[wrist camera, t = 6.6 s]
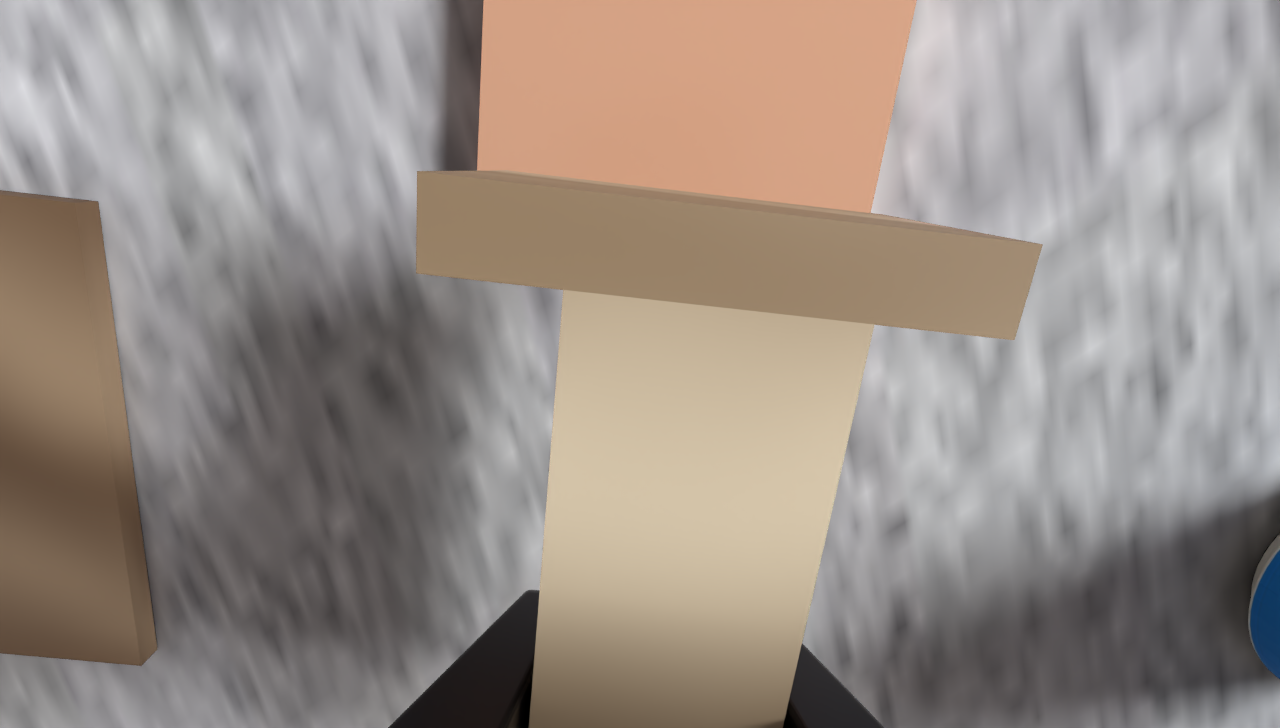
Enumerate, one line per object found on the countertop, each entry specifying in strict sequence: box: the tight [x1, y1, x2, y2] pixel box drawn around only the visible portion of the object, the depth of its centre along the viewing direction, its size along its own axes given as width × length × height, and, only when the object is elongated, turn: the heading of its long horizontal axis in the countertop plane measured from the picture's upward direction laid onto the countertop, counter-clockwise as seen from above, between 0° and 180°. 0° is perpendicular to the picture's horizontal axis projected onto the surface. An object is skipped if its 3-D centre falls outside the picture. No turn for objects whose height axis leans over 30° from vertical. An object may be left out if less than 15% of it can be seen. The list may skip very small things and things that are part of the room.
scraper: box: [416, 170, 1042, 728], centre depth 8 cm, size 11×5×4 cm, turn 174°
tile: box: [477, 0, 917, 213], centre depth 13 cm, size 2×8×8 cm
